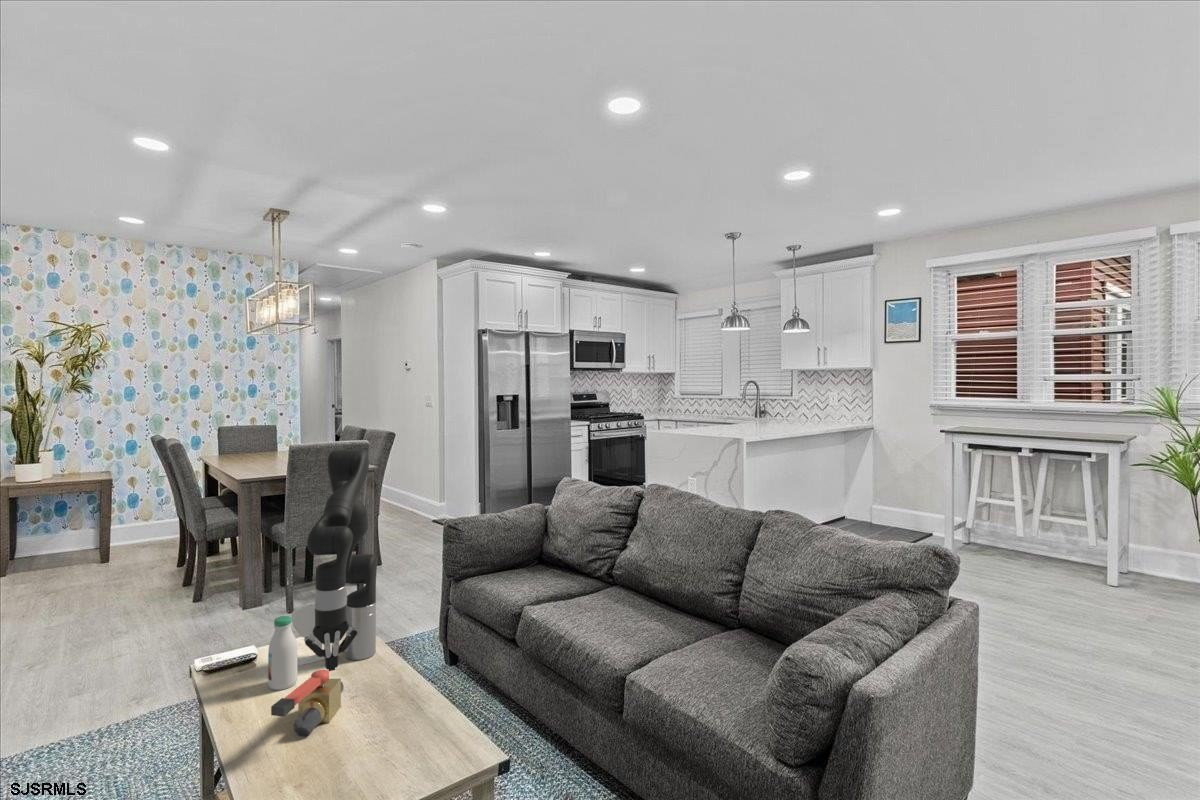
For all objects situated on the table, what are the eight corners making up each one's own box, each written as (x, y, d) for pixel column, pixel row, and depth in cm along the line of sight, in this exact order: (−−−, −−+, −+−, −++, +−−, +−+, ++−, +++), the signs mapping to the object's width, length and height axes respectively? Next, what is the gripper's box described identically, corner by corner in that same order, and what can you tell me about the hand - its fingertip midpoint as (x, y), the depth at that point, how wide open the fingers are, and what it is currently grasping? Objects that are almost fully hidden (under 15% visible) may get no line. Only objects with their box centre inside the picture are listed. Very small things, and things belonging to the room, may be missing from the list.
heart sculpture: (341, 648, 206) (341, 596, 206) (345, 653, 202) (345, 600, 202) (291, 660, 197) (291, 605, 196) (294, 666, 193) (294, 610, 192)
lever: (317, 676, 167) (317, 668, 167) (332, 677, 167) (332, 669, 167) (269, 715, 148) (269, 706, 148) (285, 716, 147) (285, 707, 147)
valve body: (320, 696, 175) (320, 665, 175) (348, 695, 175) (348, 665, 175) (287, 736, 155) (287, 701, 155) (319, 735, 155) (319, 701, 155)
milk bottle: (302, 678, 185) (302, 614, 184) (287, 691, 177) (287, 624, 177) (278, 677, 186) (278, 612, 185) (262, 690, 178) (262, 622, 177)
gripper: (355, 594, 162) (356, 657, 163) (300, 603, 155) (301, 669, 156) (361, 603, 156) (361, 669, 157) (304, 613, 149) (304, 682, 150)
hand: (331, 669), depth 157 cm, fingers closed
